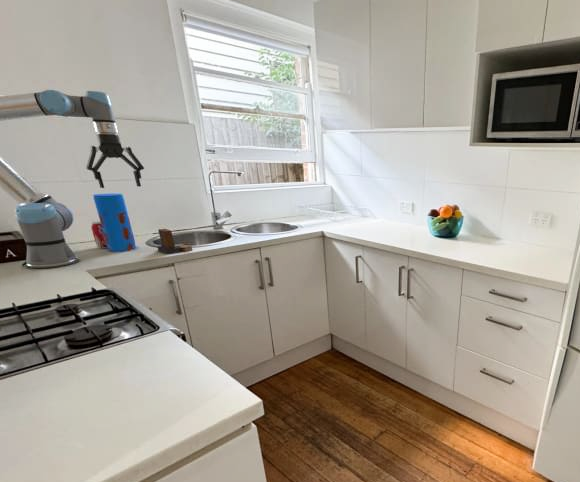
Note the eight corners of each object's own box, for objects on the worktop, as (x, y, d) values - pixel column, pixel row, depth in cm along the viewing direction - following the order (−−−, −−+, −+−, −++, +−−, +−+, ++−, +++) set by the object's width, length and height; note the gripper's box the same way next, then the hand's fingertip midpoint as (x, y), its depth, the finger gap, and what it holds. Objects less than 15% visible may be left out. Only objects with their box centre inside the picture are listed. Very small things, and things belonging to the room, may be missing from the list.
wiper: (166, 254, 174) (161, 232, 170) (158, 250, 180) (153, 229, 176) (180, 251, 178) (176, 230, 175) (172, 248, 184) (167, 227, 180)
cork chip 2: (178, 251, 180) (177, 246, 179) (185, 249, 183) (184, 245, 183) (185, 251, 179) (184, 247, 178) (192, 249, 182) (191, 245, 182)
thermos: (103, 249, 179) (87, 194, 170) (128, 245, 188) (114, 192, 178) (116, 252, 174) (100, 196, 165) (141, 248, 183) (127, 194, 174)
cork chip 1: (176, 250, 181) (175, 246, 180) (173, 249, 183) (172, 244, 182) (185, 249, 184) (184, 244, 183) (182, 247, 186) (181, 243, 185)
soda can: (100, 249, 179) (92, 224, 174) (95, 247, 183) (87, 222, 178) (117, 247, 184) (110, 222, 179) (112, 245, 188) (105, 220, 183)
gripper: (71, 132, 148) (88, 189, 156) (144, 135, 166) (156, 186, 174) (66, 132, 152) (83, 187, 160) (138, 135, 170) (149, 185, 178)
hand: (121, 187), depth 167 cm, fingers open, 13 cm apart
